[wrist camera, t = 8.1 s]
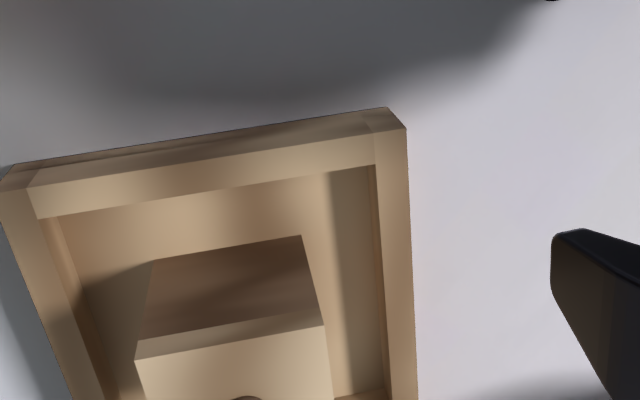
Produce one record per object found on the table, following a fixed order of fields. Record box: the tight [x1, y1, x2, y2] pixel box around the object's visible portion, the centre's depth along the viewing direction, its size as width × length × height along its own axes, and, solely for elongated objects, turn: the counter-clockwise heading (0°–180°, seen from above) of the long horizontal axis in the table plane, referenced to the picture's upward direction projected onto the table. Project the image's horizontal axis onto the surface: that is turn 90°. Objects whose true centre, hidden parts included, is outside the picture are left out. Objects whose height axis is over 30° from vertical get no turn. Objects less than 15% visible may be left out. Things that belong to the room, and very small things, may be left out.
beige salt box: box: [134, 234, 334, 400], centre depth 18 cm, size 5×5×5 cm
